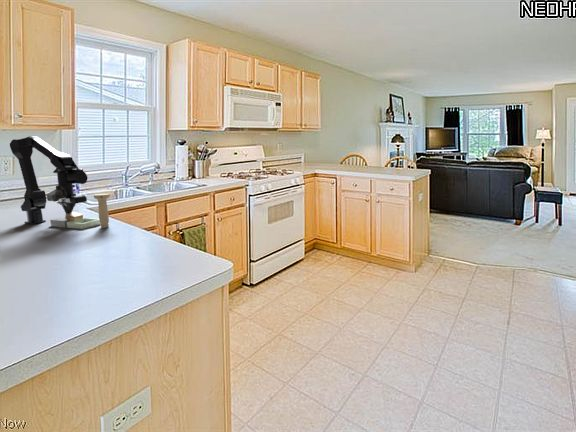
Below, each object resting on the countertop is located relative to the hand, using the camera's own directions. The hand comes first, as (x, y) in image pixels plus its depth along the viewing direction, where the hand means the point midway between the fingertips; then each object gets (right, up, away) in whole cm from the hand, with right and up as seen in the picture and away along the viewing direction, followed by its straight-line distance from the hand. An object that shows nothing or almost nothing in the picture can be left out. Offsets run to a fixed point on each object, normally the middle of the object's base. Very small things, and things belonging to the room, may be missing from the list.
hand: (68, 216), depth 183 cm
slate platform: (-2, -4, +1) cm, 5 cm away
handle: (+19, -5, -4) cm, 20 cm away
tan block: (+3, -1, 0) cm, 3 cm away
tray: (+8, -4, -1) cm, 9 cm away
